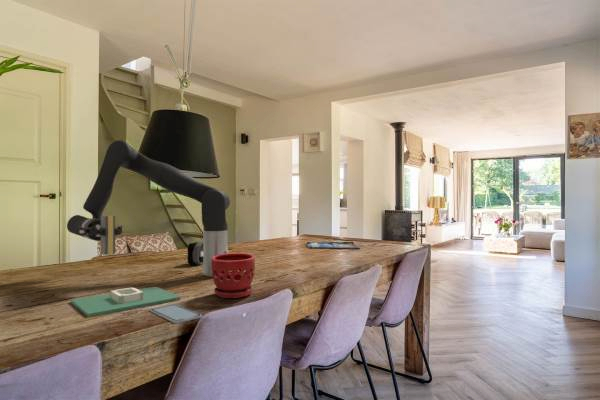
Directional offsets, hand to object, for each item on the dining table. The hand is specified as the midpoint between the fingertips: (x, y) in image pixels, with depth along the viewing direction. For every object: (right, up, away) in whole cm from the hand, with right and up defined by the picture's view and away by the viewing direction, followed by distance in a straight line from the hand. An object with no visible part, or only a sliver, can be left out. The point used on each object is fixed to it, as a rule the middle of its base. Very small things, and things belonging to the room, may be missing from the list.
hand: (110, 232), depth 116 cm
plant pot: (+39, -19, -3) cm, 44 cm away
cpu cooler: (+13, -19, +52) cm, 57 cm away
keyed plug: (-2, -7, +2) cm, 8 cm away
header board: (+10, -19, -10) cm, 24 cm away
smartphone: (+28, -19, -22) cm, 40 cm away
